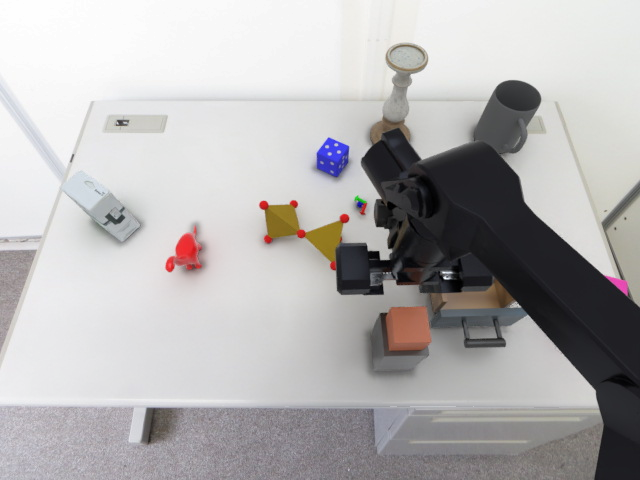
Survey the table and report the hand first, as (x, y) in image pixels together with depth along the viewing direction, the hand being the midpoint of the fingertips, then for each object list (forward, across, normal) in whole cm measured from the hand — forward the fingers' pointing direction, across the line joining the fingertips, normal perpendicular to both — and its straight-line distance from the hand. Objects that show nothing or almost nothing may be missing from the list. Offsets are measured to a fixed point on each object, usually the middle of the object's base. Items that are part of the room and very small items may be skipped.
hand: (399, 290), depth 54 cm
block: (+1, 0, +6) cm, 6 cm away
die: (+13, +8, -34) cm, 37 cm away
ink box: (+13, +51, -20) cm, 57 cm away
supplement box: (+13, -31, 0) cm, 33 cm away
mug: (+13, -28, -37) cm, 49 cm away
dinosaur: (+13, +35, -12) cm, 39 cm away
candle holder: (+13, -5, -41) cm, 43 cm away
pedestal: (+13, 0, +6) cm, 14 cm away
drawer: (+12, -14, -5) cm, 19 cm away
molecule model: (+13, +12, -18) cm, 25 cm away
